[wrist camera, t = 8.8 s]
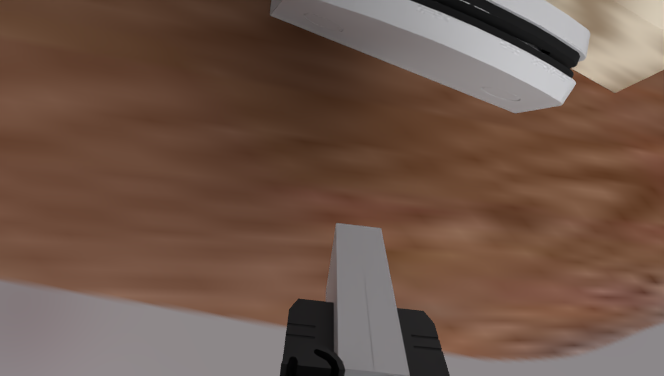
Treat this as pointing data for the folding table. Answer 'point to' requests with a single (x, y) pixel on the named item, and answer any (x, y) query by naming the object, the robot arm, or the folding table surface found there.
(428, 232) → the folding table surface
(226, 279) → the folding table surface
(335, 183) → the folding table surface
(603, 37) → the bench stop
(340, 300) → the robot arm
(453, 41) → the white black rounded case
